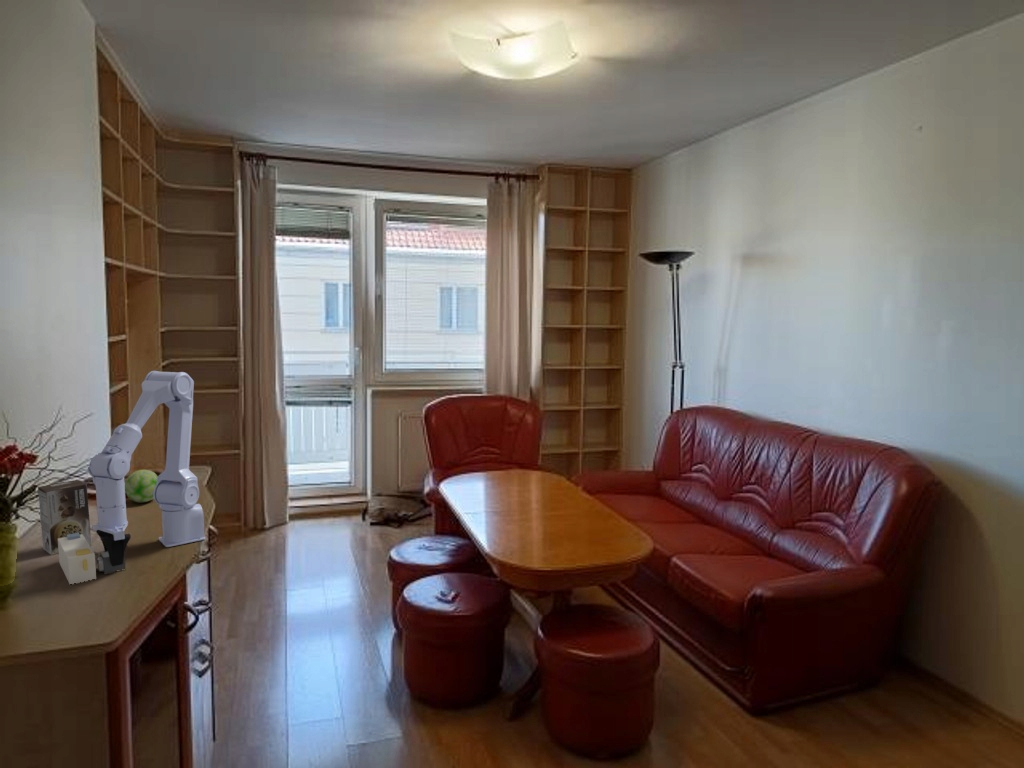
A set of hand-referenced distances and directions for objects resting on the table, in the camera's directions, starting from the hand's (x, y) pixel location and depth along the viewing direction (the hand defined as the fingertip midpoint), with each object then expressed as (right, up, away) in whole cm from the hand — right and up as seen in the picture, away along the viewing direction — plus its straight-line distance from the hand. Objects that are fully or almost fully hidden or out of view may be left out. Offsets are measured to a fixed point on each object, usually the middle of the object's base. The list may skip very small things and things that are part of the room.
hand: (115, 561), depth 160 cm
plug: (0, -2, 0) cm, 2 cm away
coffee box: (-20, 0, +14) cm, 24 cm away
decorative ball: (-21, +5, +52) cm, 57 cm away
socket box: (-8, -2, -1) cm, 8 cm away
